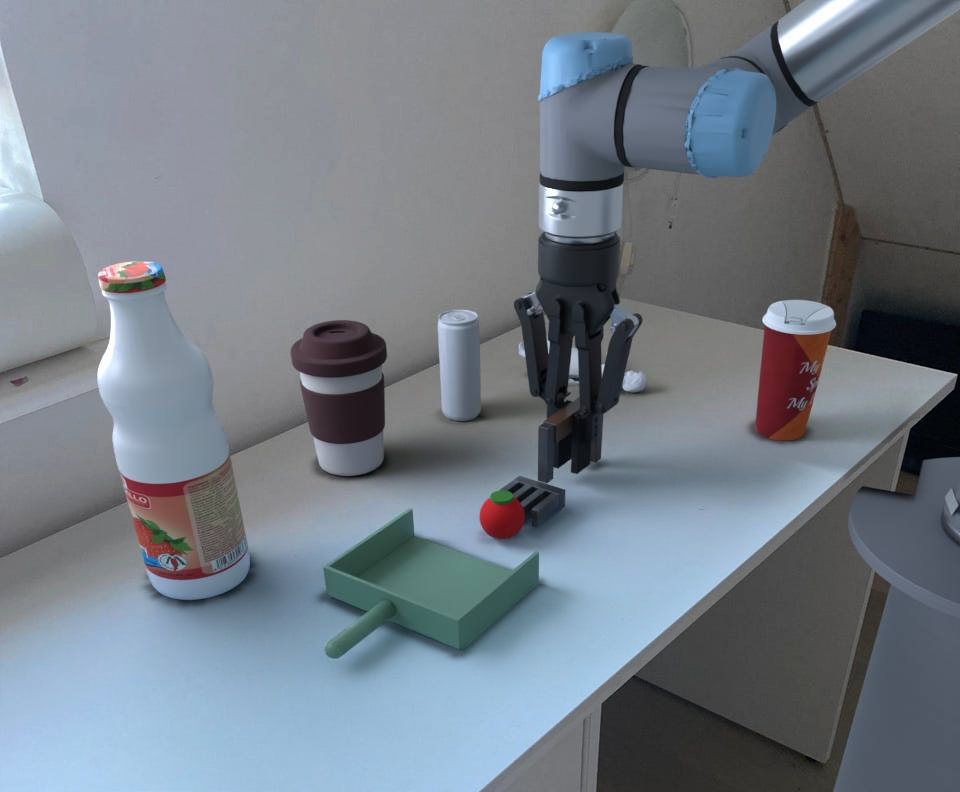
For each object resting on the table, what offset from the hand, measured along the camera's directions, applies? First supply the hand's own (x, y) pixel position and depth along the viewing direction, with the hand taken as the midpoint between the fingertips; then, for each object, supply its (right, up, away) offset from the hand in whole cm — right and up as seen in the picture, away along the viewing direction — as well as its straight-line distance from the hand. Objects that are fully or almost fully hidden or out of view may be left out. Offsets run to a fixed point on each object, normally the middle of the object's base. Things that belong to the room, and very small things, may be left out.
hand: (571, 465), depth 103 cm
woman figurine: (+4, +15, +23) cm, 28 cm away
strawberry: (-8, -7, -9) cm, 13 cm away
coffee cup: (-24, +1, +6) cm, 25 cm away
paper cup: (+25, +6, +10) cm, 28 cm away
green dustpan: (-16, -16, -17) cm, 28 cm away
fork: (-2, -2, -1) cm, 3 cm away
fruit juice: (-36, -12, -11) cm, 40 cm away
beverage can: (-12, +9, +16) cm, 22 cm away
